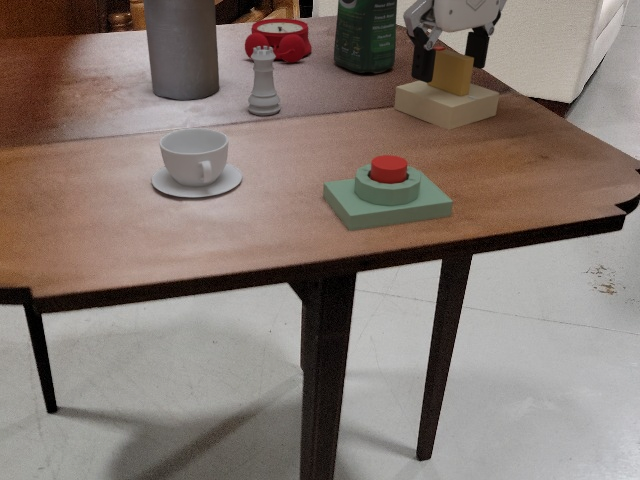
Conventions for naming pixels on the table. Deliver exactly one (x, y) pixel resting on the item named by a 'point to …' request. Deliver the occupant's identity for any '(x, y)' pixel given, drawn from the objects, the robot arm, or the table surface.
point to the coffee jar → (366, 35)
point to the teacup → (195, 164)
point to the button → (388, 169)
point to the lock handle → (452, 71)
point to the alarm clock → (280, 38)
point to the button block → (385, 200)
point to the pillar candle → (182, 47)
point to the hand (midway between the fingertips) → (448, 72)
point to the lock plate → (446, 104)
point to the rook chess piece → (263, 84)
